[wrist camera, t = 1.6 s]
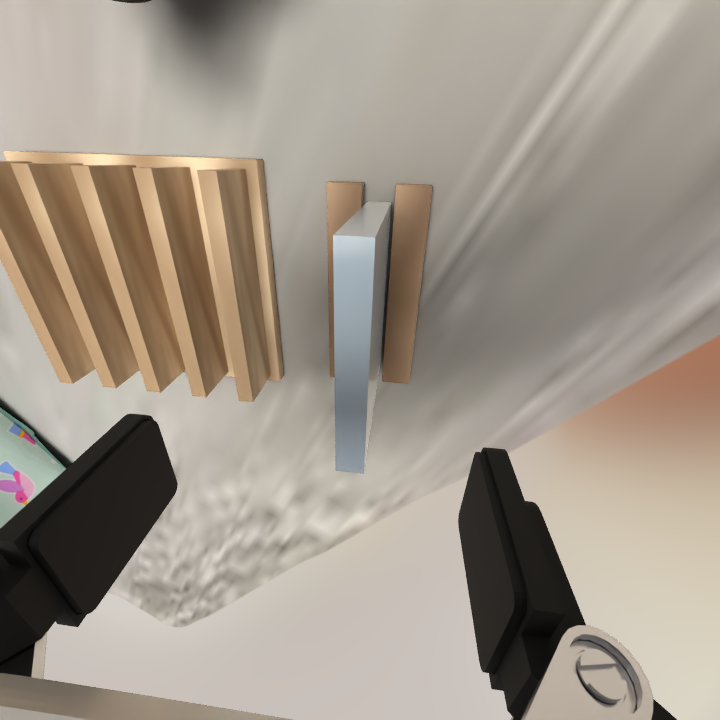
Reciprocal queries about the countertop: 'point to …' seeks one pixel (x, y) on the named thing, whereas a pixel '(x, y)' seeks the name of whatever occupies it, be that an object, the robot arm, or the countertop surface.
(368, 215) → the plate
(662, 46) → the countertop surface
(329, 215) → the wooden slats
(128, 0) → the squiggle
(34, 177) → the dish rack
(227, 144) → the countertop surface
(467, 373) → the countertop surface
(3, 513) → the lunch box
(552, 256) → the countertop surface
